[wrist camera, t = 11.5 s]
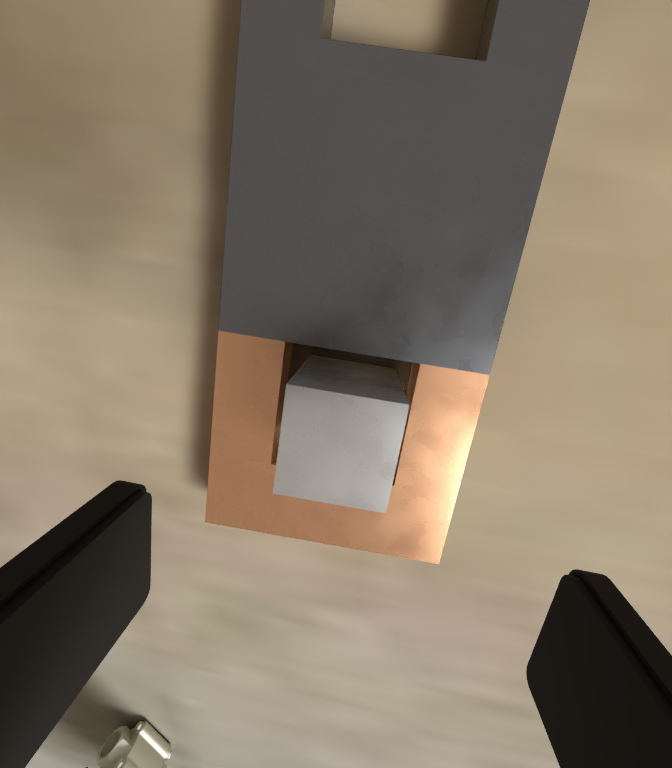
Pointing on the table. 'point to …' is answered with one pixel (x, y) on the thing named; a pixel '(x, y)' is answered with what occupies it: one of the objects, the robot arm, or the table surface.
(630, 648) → the robot arm
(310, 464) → the grey rectangular block
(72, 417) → the table surface
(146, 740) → the pneumatic valve
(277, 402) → the grey copper flat plate
